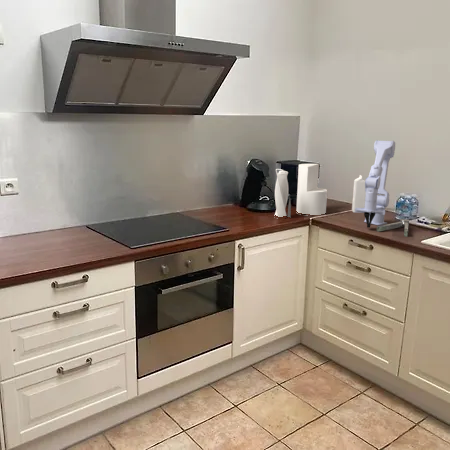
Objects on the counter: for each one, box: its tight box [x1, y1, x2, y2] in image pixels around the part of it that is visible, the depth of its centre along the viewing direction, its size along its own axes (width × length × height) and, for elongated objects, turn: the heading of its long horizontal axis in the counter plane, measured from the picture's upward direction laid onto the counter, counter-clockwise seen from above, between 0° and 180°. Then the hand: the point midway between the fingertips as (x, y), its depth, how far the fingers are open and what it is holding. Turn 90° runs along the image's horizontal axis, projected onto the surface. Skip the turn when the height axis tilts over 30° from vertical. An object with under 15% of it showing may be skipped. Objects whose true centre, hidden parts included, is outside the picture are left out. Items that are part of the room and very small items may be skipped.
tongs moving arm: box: [376, 221, 407, 232], centre depth 236 cm, size 21×3×2 cm, turn 124°
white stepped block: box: [296, 163, 328, 216], centre depth 269 cm, size 17×17×28 cm
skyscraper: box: [274, 168, 292, 218], centre depth 256 cm, size 8×8×28 cm
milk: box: [351, 174, 366, 214], centre depth 273 cm, size 6×6×22 cm
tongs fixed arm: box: [399, 218, 410, 237], centre depth 234 cm, size 24×4×3 cm, turn 159°
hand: (368, 227), depth 234 cm, fingers closed
